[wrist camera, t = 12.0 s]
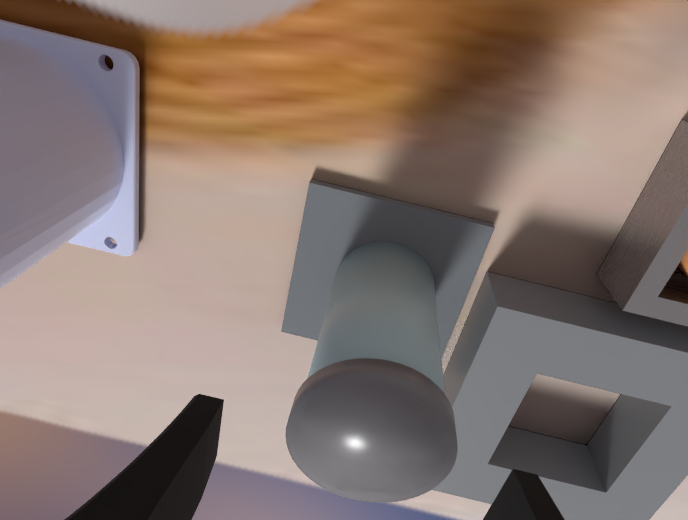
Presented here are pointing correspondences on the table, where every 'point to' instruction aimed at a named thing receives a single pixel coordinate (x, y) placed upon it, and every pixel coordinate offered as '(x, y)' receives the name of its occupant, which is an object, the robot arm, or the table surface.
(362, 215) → the slate mat
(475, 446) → the socket block
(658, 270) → the button housing
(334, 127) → the table surface
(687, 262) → the release button
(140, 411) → the table surface
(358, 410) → the cylinder
